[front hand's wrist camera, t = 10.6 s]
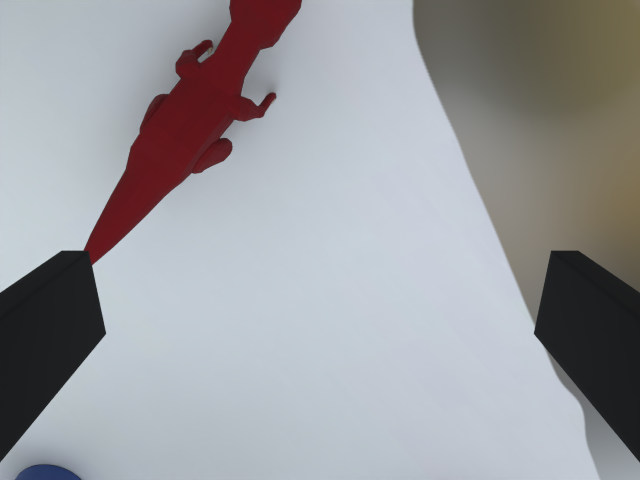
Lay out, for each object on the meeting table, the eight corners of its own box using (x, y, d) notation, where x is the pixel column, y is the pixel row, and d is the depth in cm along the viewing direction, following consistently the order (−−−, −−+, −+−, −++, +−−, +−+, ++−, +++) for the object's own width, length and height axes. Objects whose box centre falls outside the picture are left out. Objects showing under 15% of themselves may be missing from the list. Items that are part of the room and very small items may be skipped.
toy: (289, 88, 42) (362, -23, 28) (120, 307, 33) (107, 300, 19) (227, 36, 40) (272, -108, 27) (32, 252, 31) (-50, 203, 18)
